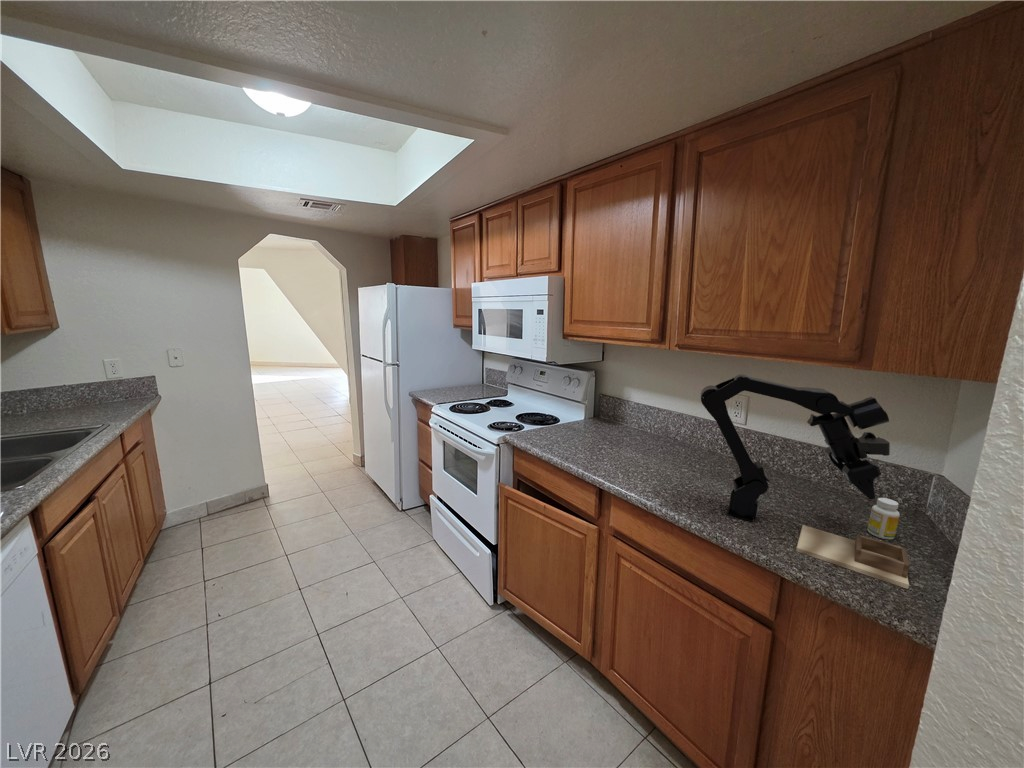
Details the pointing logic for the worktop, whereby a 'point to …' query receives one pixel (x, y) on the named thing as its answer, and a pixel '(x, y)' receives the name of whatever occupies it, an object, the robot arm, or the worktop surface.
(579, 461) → the worktop surface
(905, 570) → the socket board
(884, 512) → the supplement bottle
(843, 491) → the worktop surface
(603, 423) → the worktop surface
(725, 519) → the worktop surface
